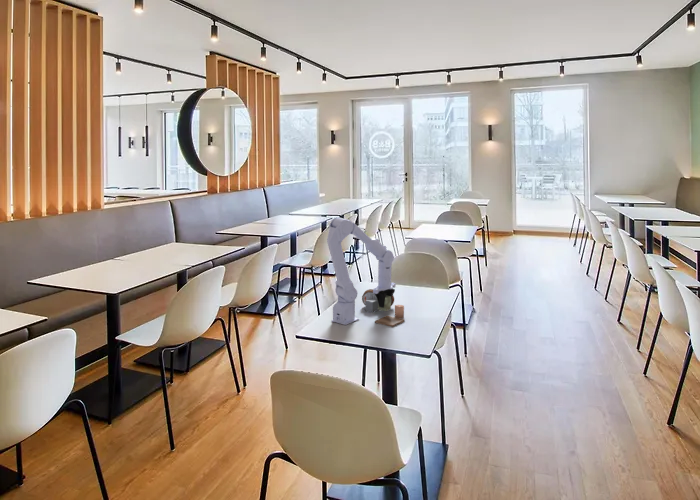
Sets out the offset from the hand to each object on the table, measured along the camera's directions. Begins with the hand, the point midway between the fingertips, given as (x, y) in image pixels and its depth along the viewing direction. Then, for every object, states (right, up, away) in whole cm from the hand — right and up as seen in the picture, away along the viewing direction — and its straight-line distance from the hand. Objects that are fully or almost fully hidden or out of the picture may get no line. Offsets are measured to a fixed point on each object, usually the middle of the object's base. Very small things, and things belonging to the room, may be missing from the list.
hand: (384, 306), depth 213 cm
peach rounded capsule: (+6, -4, -4) cm, 8 cm away
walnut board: (+2, -6, -10) cm, 12 cm away
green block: (0, -2, 0) cm, 2 cm away
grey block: (-5, -3, +6) cm, 8 cm away
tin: (-2, -2, +10) cm, 11 cm away
